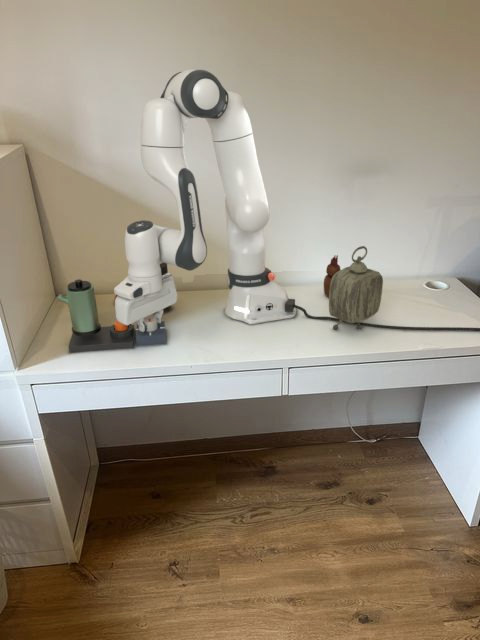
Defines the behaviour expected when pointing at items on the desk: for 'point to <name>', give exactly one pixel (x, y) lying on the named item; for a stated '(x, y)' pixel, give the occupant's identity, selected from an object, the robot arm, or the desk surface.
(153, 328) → the temp dial
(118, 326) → the power button
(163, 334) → the control pad
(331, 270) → the wooden figurine
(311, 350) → the desk surface
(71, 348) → the kettle base
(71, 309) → the kettle
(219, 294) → the desk surface
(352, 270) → the tabletop clock
